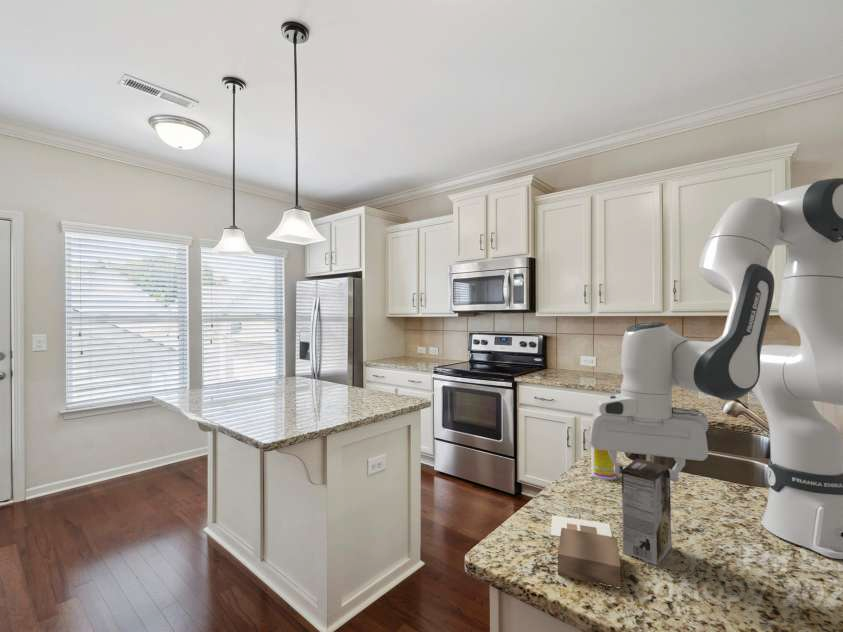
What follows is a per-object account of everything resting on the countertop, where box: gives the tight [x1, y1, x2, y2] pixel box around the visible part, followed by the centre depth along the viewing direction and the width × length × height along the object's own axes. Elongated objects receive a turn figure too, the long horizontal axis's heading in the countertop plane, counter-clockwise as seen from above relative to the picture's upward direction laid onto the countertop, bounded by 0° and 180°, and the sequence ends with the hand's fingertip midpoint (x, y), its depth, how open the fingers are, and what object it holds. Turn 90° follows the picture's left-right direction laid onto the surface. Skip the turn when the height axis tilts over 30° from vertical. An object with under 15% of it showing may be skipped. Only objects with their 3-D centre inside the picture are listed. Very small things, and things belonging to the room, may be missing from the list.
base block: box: [557, 528, 622, 588], centre depth 75 cm, size 10×10×4 cm
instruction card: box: [550, 515, 613, 538], centre depth 88 cm, size 12×9×1 cm
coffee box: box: [621, 458, 673, 566], centre depth 80 cm, size 9×6×16 cm
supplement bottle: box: [590, 445, 618, 481], centre depth 118 cm, size 7×7×13 cm
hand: (645, 476), depth 80 cm, fingers open, 8 cm apart
